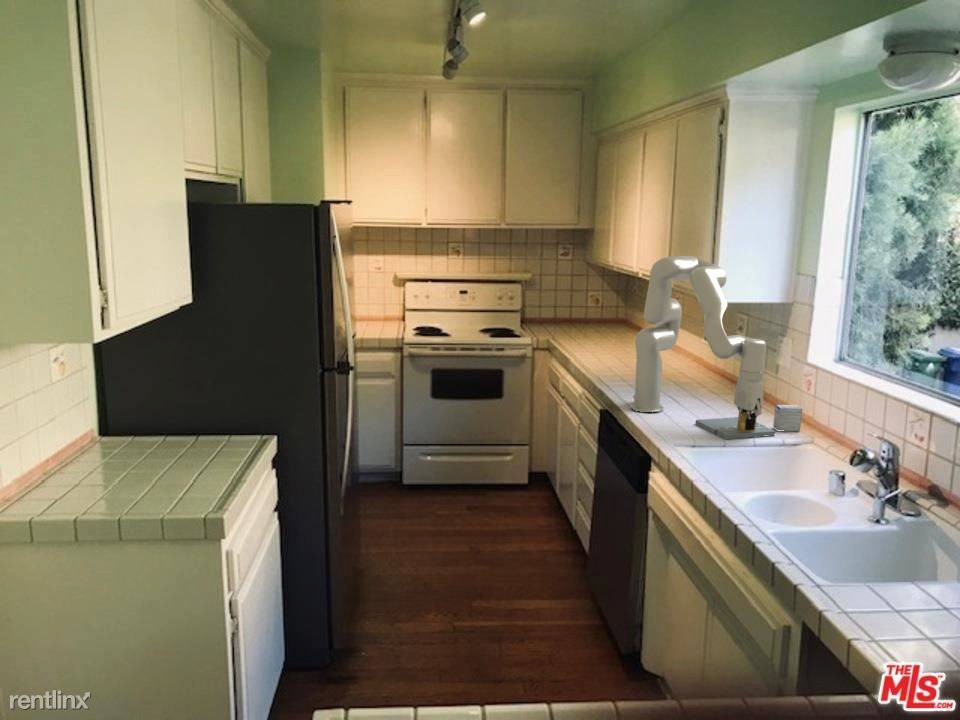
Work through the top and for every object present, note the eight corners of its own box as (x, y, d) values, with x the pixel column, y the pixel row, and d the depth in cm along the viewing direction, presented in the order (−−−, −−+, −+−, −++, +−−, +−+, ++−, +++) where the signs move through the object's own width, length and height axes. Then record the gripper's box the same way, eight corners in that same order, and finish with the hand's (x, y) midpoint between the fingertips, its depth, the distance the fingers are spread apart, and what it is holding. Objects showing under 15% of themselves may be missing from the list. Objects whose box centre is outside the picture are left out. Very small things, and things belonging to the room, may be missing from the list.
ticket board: (695, 424, 265) (695, 419, 264) (744, 420, 270) (744, 416, 269) (714, 434, 253) (714, 429, 253) (764, 430, 258) (765, 425, 258)
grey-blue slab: (716, 434, 253) (718, 412, 251) (764, 430, 258) (766, 409, 256) (725, 439, 247) (727, 417, 246) (775, 435, 252) (777, 414, 251)
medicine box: (794, 428, 262) (797, 404, 260) (800, 432, 257) (803, 408, 256) (772, 428, 261) (775, 404, 260) (778, 432, 257) (780, 408, 255)
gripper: (727, 370, 255) (723, 422, 259) (756, 381, 240) (751, 436, 243) (746, 370, 257) (741, 420, 261) (776, 380, 241) (770, 434, 245)
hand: (746, 427), depth 252 cm, fingers closed on grey-blue slab, 3 cm apart
